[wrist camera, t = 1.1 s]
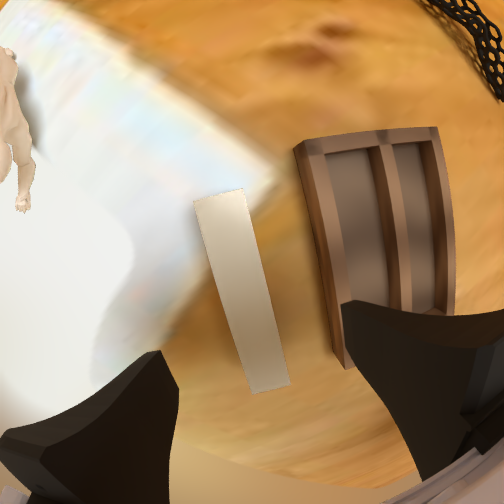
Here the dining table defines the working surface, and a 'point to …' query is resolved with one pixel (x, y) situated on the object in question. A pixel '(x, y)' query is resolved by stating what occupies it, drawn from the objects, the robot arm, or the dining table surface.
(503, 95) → the decorative element
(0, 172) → the person figurine
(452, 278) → the rack
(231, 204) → the clay strip
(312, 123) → the dining table surface
